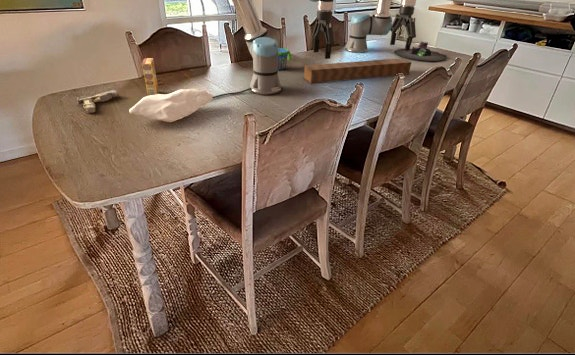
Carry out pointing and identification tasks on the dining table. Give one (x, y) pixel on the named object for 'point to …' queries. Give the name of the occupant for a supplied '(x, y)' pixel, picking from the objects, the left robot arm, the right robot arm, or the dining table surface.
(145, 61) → the candy box
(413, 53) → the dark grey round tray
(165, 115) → the crumpled cloth
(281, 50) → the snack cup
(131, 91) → the dining table surface
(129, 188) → the dining table surface
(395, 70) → the thick board
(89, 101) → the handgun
